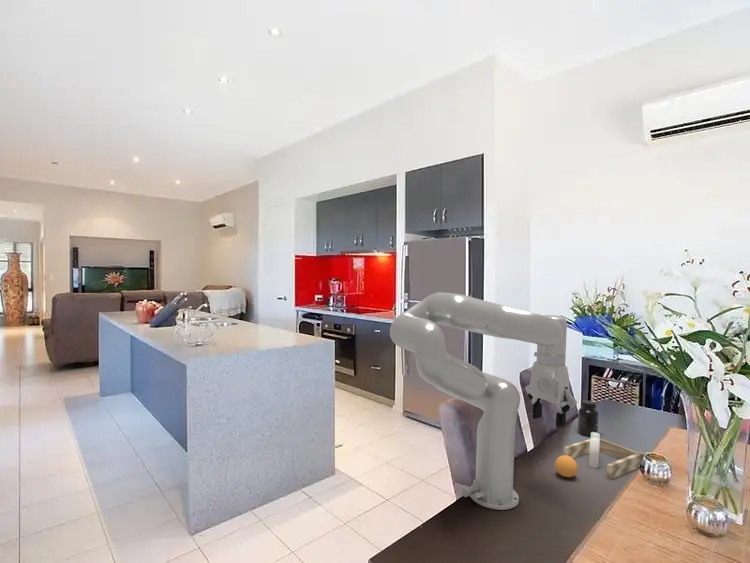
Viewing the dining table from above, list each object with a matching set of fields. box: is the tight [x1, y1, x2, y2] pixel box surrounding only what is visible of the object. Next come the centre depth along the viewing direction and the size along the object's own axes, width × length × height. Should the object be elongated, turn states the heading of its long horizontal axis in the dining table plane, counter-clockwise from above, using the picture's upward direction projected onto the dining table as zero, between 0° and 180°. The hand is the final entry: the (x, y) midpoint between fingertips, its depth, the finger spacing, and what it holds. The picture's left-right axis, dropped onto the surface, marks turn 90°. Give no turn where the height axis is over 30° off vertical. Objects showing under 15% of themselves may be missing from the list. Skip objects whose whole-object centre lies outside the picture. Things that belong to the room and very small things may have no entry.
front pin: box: [588, 437, 600, 469], centre depth 131 cm, size 3×3×8 cm
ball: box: [555, 454, 579, 478], centre depth 124 cm, size 6×6×6 cm
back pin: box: [590, 432, 601, 449], centre depth 136 cm, size 3×3×8 cm
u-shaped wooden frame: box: [563, 437, 645, 480], centre depth 134 cm, size 18×15×4 cm
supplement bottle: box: [577, 399, 600, 438], centre depth 158 cm, size 7×7×12 cm
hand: (548, 421), depth 119 cm, fingers open, 6 cm apart
